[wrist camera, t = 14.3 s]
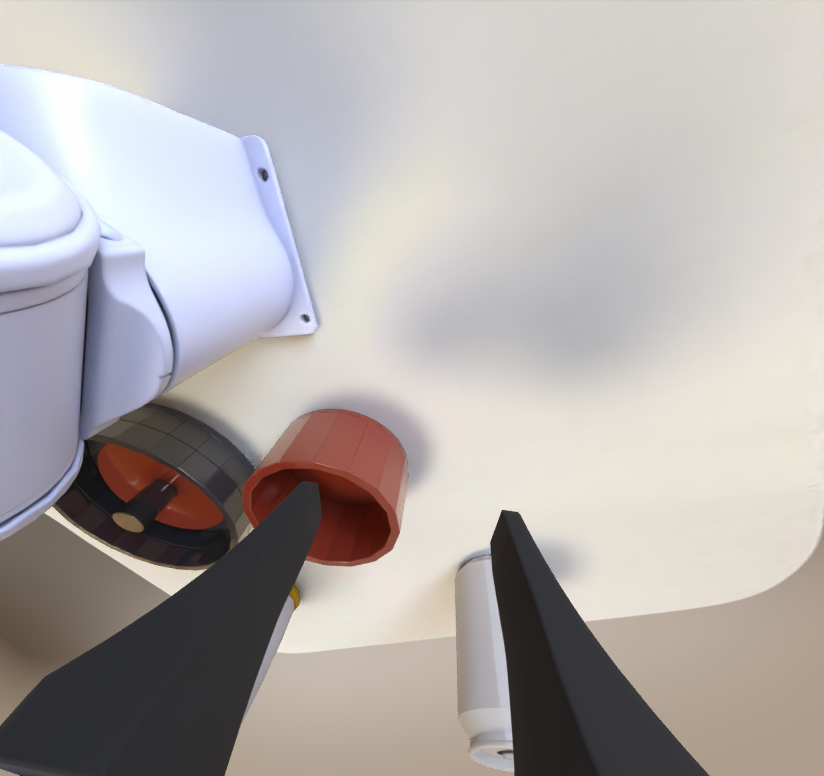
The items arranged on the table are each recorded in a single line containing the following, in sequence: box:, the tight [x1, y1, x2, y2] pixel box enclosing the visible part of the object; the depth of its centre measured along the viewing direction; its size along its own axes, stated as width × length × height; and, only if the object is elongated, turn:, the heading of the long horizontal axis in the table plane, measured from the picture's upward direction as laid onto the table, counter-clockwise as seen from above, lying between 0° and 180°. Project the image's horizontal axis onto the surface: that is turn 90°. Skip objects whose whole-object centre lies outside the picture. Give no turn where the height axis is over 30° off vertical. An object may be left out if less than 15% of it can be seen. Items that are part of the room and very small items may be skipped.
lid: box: [97, 443, 224, 532], centre depth 24 cm, size 11×11×4 cm
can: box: [455, 556, 514, 772], centre depth 24 cm, size 8×8×12 cm
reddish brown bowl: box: [242, 409, 409, 566], centre depth 21 cm, size 10×10×5 cm
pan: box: [53, 403, 255, 570], centre depth 25 cm, size 16×16×4 cm
